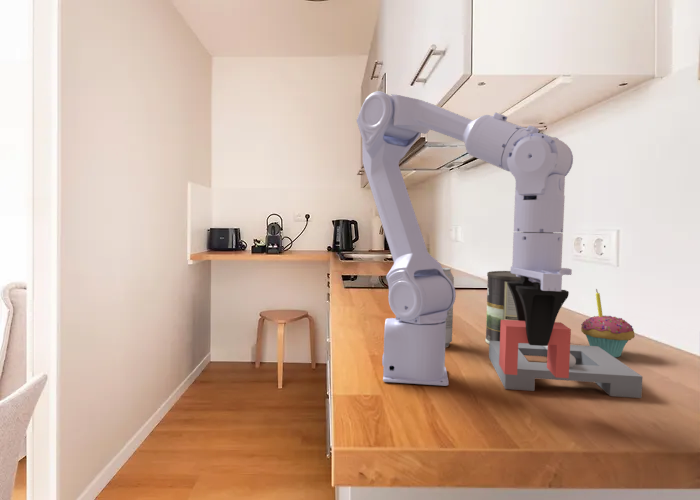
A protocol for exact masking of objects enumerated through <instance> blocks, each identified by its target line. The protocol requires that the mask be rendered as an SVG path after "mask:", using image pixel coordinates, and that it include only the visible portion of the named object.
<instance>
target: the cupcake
mask: <svg viewBox="0 0 700 500" xmlns="http://www.w3.org/2000/svg"><path fill="white" fill-rule="evenodd" d="M595 291H596V292H595V299H596V307H597V313H598V315H597V316H595V315H594V316H590V317H589V318H587V319H586V318H585V320H583V322H582V323H581V328H580V329H581V333H583V334H584V335H585V336H586V339H587V341H588V346H598V347H600V348H601V349H603V350H604V351H606V352H607V353H609V354H610V355H612V356H613V357H615V358H619V357H621V356H622V353H623V351H624V348H625V346H626V344H627V343H628V342H629V341H631V340H632V339H635V330H634V328H633V325H631V324H630V323H628V321H627V320H625V319H623V318H622V317H616V316H611V315H603V309H602V302H601V301H602V300H601V294H600V293H599V292H598V289H597V288H595Z"/></svg>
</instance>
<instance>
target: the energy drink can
mask: <svg viewBox="0 0 700 500" xmlns="http://www.w3.org/2000/svg"><path fill="white" fill-rule="evenodd" d="M442 269H443V271H444V273H445V275H446V276H447V277H448V278H449V279H450V280H451V282H452V283H453V285H454V284H455V283H454V282H455V281H454V279H455V278H454V275H453V273H452V271H451V270H452V268H450V267H442ZM453 316H454V305H453V306H452V307H451V308H450V309H449V310H448V311H447V318H446V334H445V348H448V347H449V346H450V344H451V343H452V342H453V324H454V323H453V318H454V317H453Z"/></svg>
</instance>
